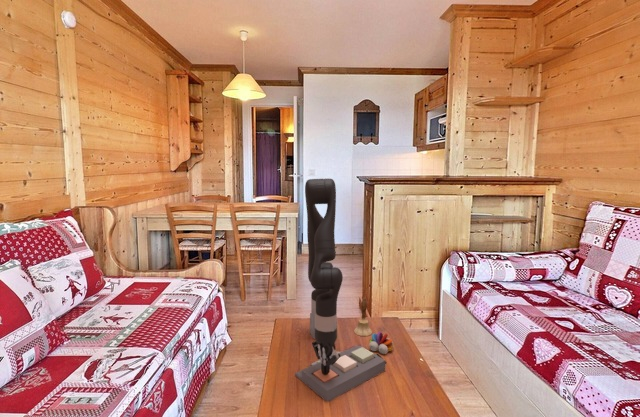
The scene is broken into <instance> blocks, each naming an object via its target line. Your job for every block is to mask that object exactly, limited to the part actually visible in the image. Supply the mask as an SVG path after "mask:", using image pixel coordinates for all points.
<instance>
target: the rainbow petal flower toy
mask: <svg viewBox="0 0 640 417" xmlns="http://www.w3.org/2000/svg"><path fill="white" fill-rule="evenodd" d="M393 346H394V342H393V339H391V338H388V333H385V334H384V333H383V332H382V331H378V332H377V333H375V332H374V333H372V334H371V339H370V340H369V344H368V347H369V349H370V351H371V352H377V351H379V353H380V354H381V355H386V354H387V353H388V352H391V351H392V350H393Z"/></svg>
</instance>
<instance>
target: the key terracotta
mask: <svg viewBox="0 0 640 417" xmlns="http://www.w3.org/2000/svg"><path fill="white" fill-rule="evenodd" d="M313 375H314V376H315V377H316V378H318V379H319V380H320V381H322V382H323V383H326V382H328V381H330V380H332V379H334V378H336V377H338V374H336V373H335V372H333V371H332V370H331V369H330V372H329V373H328V374H327V375H324V374H322V371H321V369H320V370H318V371H316V372H314V373H313Z"/></svg>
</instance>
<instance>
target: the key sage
mask: <svg viewBox="0 0 640 417" xmlns="http://www.w3.org/2000/svg"><path fill="white" fill-rule="evenodd" d="M374 354H375V353H374V352H373V351H371V350H368V349H366V348H365V347H364V346H361V348H359V349H357V350H355V351H353V352H351V357H352V358H353V359H355V360H357V361H358V362H360V363H361V364H364V363H366V362H368V361H370V360H372V359H374Z"/></svg>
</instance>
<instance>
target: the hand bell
mask: <svg viewBox="0 0 640 417" xmlns="http://www.w3.org/2000/svg"><path fill="white" fill-rule="evenodd" d="M360 306H361V307H360V308H361V318H359V319H358V323H357V324H356V328H354V330H353V333H354V334H355V335H357V336H360V337H369V336H372V334H373V330H372V329H371V328H370V325H369V320H368V319H367V318H366V317H367V316H366V311H367V309H368V302H367V298H366V297H363V298H362V301H361V304H360Z"/></svg>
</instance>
